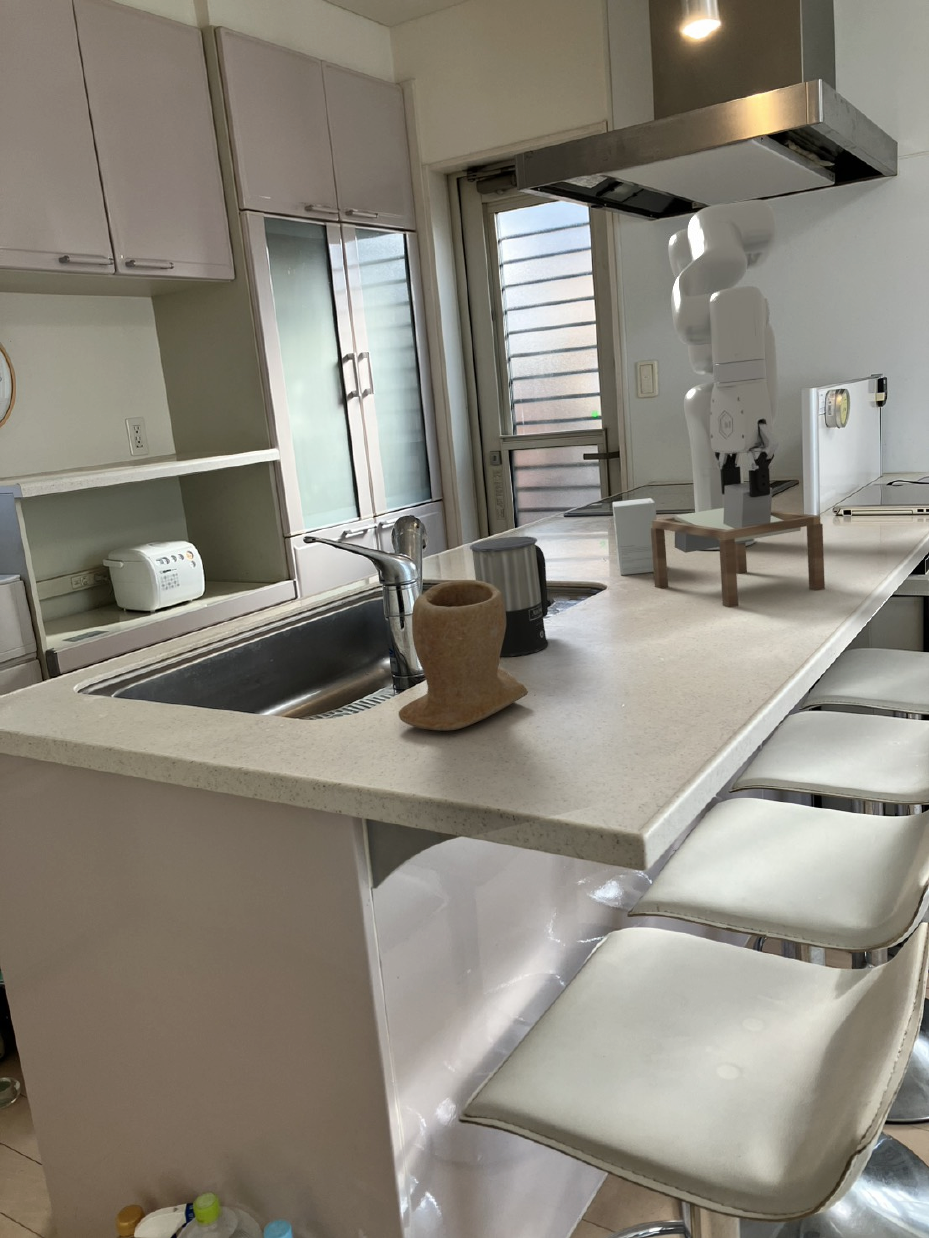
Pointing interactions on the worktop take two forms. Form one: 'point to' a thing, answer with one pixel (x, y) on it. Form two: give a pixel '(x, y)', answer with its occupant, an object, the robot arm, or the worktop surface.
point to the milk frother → (516, 589)
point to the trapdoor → (715, 521)
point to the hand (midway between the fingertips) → (745, 493)
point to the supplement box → (634, 535)
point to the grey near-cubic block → (745, 507)
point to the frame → (740, 549)
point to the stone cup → (460, 656)
